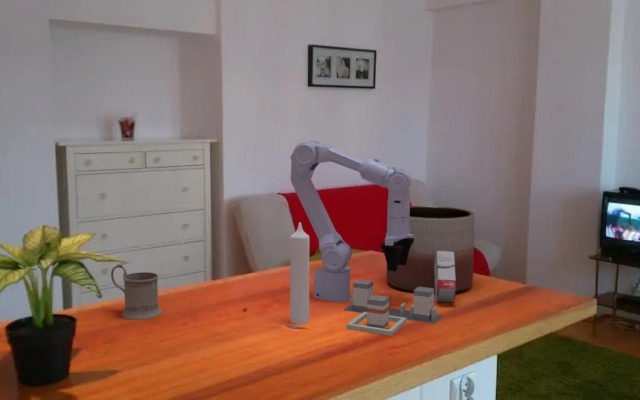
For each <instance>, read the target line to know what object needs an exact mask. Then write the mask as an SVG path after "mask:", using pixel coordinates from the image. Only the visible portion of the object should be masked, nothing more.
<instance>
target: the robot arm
mask: <svg viewBox="0 0 640 400" xmlns="http://www.w3.org/2000/svg"><path fill="white" fill-rule="evenodd" d="M289 157H290V158H289V159H290V161H291V164H290V165H291V167H290V182H291V185H292V188H293V189H294V191H295V193H296V196H297V197H298V199H299V201H300V203H301V205H302V208H303V209H304V211H305V215H306V216H307V218H308V221H309V222H310V224H311V226H312V228H313V231H314V233H315V234H316V237H317V239H318V248H319V251H320V253H321V263H322V267H318V268H317V269H316V270H315V272H314V275H313V299H317V300H323V301H328V302H333V303H335V302H336V303H340V302H347V301H350V299H351V267H350V266H349V261H351V259H352V257H353V256H352V255H353V253H352V249H351V246H350V245H349V244H348V243H346V242H345V241H344V240H343V237H342V236H341V235H340V234H339V233H338V232H337V231H336V228H335V227H334V224H333V223H332V220H331V217H330V216H329V213H328V211H327V210H326V208H325V206H324V203H323V202H322V201H323V200H321V198H320V195H319V192H318V191H317V188H316V186H315V184H314V182H313V181H312V180H313V179H312V178H313V175H314V173H315V170H316V168H317V167H318V166H319V165H320V164H323V163H330V162H331V163H334V164H337V165H340V166H343V167H345V168H346V169H347V168H348V169H350V170H352V171H356V172H358V173H359V175H360V177H361V179H363V180H365V181H367V182H369V183H372V184H375V185H377V186H379V187H381V188H387V190H388V199H387V214H386V215H387V217H386V219H387V222H386V223H387V224H386V233H385V236H386V237H385V238H384V242H382V243H380V248H381V250H382V252H383V255H384V257H385V262H386V268H387V267H388V271H395V272H396V271H397V268H398V265H406V263H407V259H408V254H409V251H410V248H411V246H412V244H413V242H414V238H412V237H413V234H410V229H409V217H410V206H411V200H410V197H411V193H410V188H411V185H412V177H411V175H410V174H409V173H408V171H405V170H404V169H403V168H402V169H401V168H400V169H397V166H395V165H392V166H391V165H388V164H385V163H383V162H381V161H380V160H381V159H379V158H377V157H374V158H372V157H371V158H368V159H365V160H363V159H361V158H358V157H357V156H354V155H352V154H350V153H347V152H345V151H343V150H341V149H339V148H337V147H334V146H332V145H329V144H326V143H320V142H318V141H316V140H310V141H309V142H307V141H306V142H305V141H303V142H299V143H298V144H297V145H296V146H295V147H294V149H293V150H292V153H291V156H289Z"/></svg>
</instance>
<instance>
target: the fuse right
mask: <svg viewBox="0 0 640 400" xmlns="http://www.w3.org/2000/svg"><path fill="white" fill-rule="evenodd" d="M434 303H435V294H434V288H426V287H417V288H416V289H415V290H414V292H413V304H412V305H413V318H415V319H421V320H428V321H429V320H430V319H431V316H432V309H433V308H434V307H435V305H434Z"/></svg>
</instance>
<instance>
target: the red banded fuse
mask: <svg viewBox="0 0 640 400" xmlns="http://www.w3.org/2000/svg"><path fill="white" fill-rule="evenodd" d="M389 308H390V296H383V295H374V294H373V296H371V297H370V298H368V299H367V318H366V326H369V327H376V328H382V329H386V327H388V325H389V324H390V321H389Z"/></svg>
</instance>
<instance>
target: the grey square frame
mask: <svg viewBox="0 0 640 400" xmlns="http://www.w3.org/2000/svg"><path fill="white" fill-rule="evenodd" d="M365 319H367V312H363V313H359V315H358V316H356V317H355V318H353V319H352V320H351V321H349V322H348V323H346V330H351V331H357V332H364V333H371V334H378V335H383V336H389V337H392V336H394V334H395V333H397V332H398V331H399V330H400V329H401V328H402V327H403V326H404V325H405V324H406V323H407V322H408V320H407V318H403V317H396V316H389V322H393V323H394V324H393V325H392V326H390V328H389V329H388V328H387V329H386V328H384V329H382V328H376V327H369V326H367V325H361V324H360V323H361V322H363V321H364V320H365Z"/></svg>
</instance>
